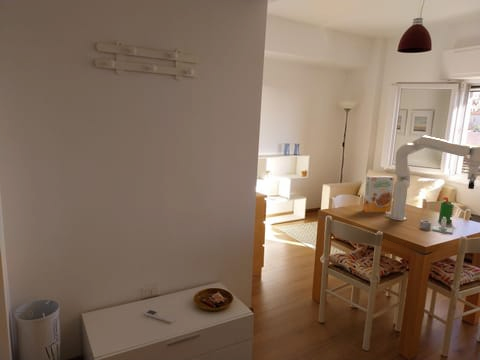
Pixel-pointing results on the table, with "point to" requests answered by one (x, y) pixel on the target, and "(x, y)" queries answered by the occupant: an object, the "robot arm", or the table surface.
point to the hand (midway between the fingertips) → (470, 187)
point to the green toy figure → (446, 210)
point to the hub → (425, 224)
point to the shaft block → (443, 227)
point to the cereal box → (378, 193)
